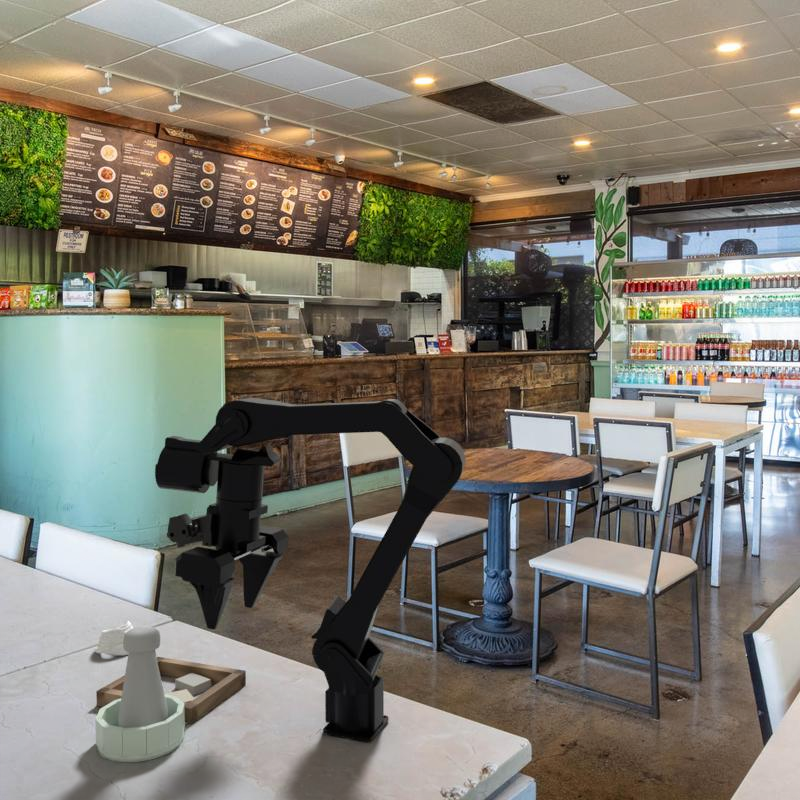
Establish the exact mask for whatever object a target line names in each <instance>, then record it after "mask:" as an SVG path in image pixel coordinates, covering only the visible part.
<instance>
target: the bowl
mask: <svg viewBox="0 0 800 800" xmlns="http://www.w3.org/2000/svg"><path fill="white" fill-rule="evenodd" d="M164 695H165V699H166V704H167V708H168V716H167V719H166V720H165V721H162V722H159V723H155V724H152V725H149V726H145V727H131V728H122V727H120V726H119V723H118V716H119V710H120V703H121V699H117V700H114V701H113V702H111V703H109V704H108V705H106V706H104V707H101V708H99V710H98V713H97V714H96V717H95V721H94V722H95V744H96V746H97V753H98V754H99V755H100V756H101V757H102V758H104V759H106V760H109V761H112V762H116V763H117V762H118V763H138V762H145V761H150V760H154V759H157V758H160V757H162V756H165V755H167V754H169V753H171V752H173V751H174V750H176V749H177V748H178V747H180V745H181V744H182V743H183V742H184V739H185V727H186V725H185V724H186V723H185V709H184V702H182V701H181V700H180V699H178V698H177V697H176V696H172V695H167V694H165V693H164Z"/></svg>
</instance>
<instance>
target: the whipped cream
mask: <svg viewBox="0 0 800 800" xmlns="http://www.w3.org/2000/svg"><path fill="white" fill-rule="evenodd" d="M133 628H134V626H133V625H132V623H131V622H130V621H129V620H127V621H125V622H124V623H123V624H122V625H120V626H119V627H113V628H110V629H104V630H102V631H101V635H100V636H99V637H98V639H99V640H98V644H97V645H96V646H97V647H98V648H96V649H94V652H95V653H97V654H99V655H100V654H104V655H108V656H111V657H112V656H124V657H125V656H128V654H129V652H127V651H125V650H124V648H123V640H124V635H125V633H126V632H127V631H129V630H130V629H133Z"/></svg>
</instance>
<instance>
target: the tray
mask: <svg viewBox="0 0 800 800" xmlns="http://www.w3.org/2000/svg"><path fill="white" fill-rule="evenodd" d="M156 657H157V662H158V667H159V672H160V676H161V675H162V676H168V677H172V678H173V677H174V678H180V677H183V676H185V675H188V674H190V673H195V674H197V675H200V676H203V677H205V678H208V679H211V684H213V686H211V688H210V689H208V690H206V691H203V692H202V693H200V695H198V696H197V697H194V700H192V701H191V702H189V703H186V702H184V709H185V724H191V725H193V724H194V723H195V722H196V721H197V720H198V721H199V720H200V718H202V717H204V716H205V715H206V714H207V713H209V712H210V711H211V710H213V709H214V708H216V707H218V706H219V705H221V703H223V702H224V701H225V700H227V699H228V698H229V697H230V696H232V695H233V694H235V693H236V692H238V691H239V690H240V689H242V688H243V687H244V686H246V684H247V682H246V681H247V680H246V679H247V677H246V676H247V675H246V670H243V669H237V668H230V667H226V666H218V665H212V664H207V663H201V662H200V663H199V662H195V661H194V662H193V661H187V660H181V659H175V658H169V657H162V656H156ZM124 679H125V674H124V675H123V676H121V677H119V678H117V679H115V680H114V681H112V682H110V683H108V684H107V685H105V686H103V687H102V688H100V689H97V690H96V706H97V707H101V708H102V707H104V706H106V705H108V704H109V703H111V702H113V701H114V700H117V699H121V697H122V691H123V685H124Z"/></svg>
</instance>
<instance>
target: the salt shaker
mask: <svg viewBox="0 0 800 800" xmlns="http://www.w3.org/2000/svg"><path fill="white" fill-rule="evenodd" d="M160 645H161V633H160V630H159V629H157V628H156V627H154V626H148V625H147V626H145V625H143V626H142V625H141V626H136V627H133V629H130V630H129V631H127V632H126V633H125V635H124V640H123V648H124V650H125V651H127V652H129V654H128V655H127V661H126V668H125V673H124V675H125V679H124V685H123V691H122V697H121V703H120V710H119V716H118V723H119V726H120V727H122V728H131V727H145V726H149V725H152V724H155V723H159V722H162V721H165V720H166V719H167V716H168V708H167V704H166V699H165V695H164V694H165V690H164V685H163V682H162V678H161V674H160V672H159V667H158V662H157V657H158V656H157V652H156V650H157V649H159V648H160Z"/></svg>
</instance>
